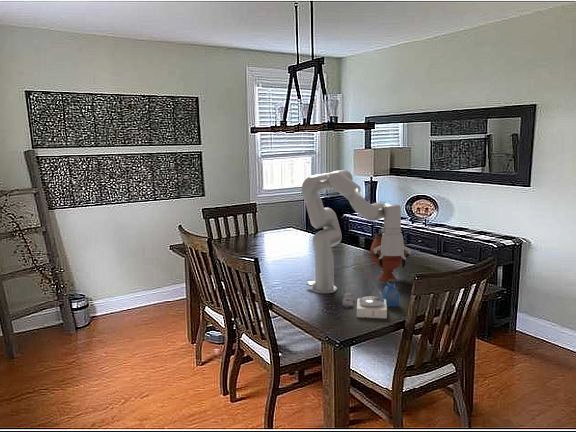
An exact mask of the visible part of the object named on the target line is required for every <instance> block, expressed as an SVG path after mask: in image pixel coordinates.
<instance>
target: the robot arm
mask: <svg viewBox="0 0 576 432" xmlns="http://www.w3.org/2000/svg"><path fill="white" fill-rule="evenodd" d="M332 189H334V191H336V192H337V193H339V194H340V195H341V196H342V197H344V198H345V199H347V200H348V202H349V204H350V206H351V208H352V209H353V210H354V211H355V213H356V214H358V215H359V216H361V217H362V218H363V219H365V220H366V221H369V222H373V221H376V220H380V219H383V228H382V227H381V228H380V232H381V233H383V234H382V241H381V246H379V247H377V248H375V249H373V251H374V253H375V255H376V256H377V257H378V258H379V265H381V268H380V269H382V267H383V259H382V257H383V256H401V257H402V264H401V268H402V269H403V268H405V266H406V259H407V258H408V257H409V256H410V255H411V253H412V249H411V248H409V247H407V246H406V245H405V242H404V236H403V234H402V233H401V231H402V230H401V229H402V224H401V222H402V219H401V217H402V216H401V215H402V207H401V205H400V204H397V203H385V202H383V201H382V202H373V203H370V202H369V201H367V200H366V199H365V198H364V197H363V196H362V195H361V192H362V191H361V190H362V189H361V186H360V185H359V184H357V183H356V182H355V181H354V179H353V175H352V173H351V172H350V171H349V170H347V169H341V170H334V171H332V172H326V173H325V172H324V173H320V174H319V173H317V174H313V175H310V176H308V177H306V179H304V181H303V183H302V185H301V194H302V198H303V201H304V202H305V206H306V211H307V214H308V219H309V221H310V225H311V226H312V227H313V228H315V229H321V228H322V230H318V231H317V232H316V233H315V234H314V235H313V238H312V245H313V251H314V269H315V270H314V271H315V273H314V279H315V280H313V281H306V286H308V287H312V288H311V289H312V292H314V293H317V294H320V295H321V294H324V295H326V294H332V293H335V292H337V289H338V287H337V286H335V284H334V283H335V282H334V280H335V279H334V276H335V275H334V274H335V273H334V272H335V270H334V268H335V267H334V253H333V250H332V247H335V246H337V245H338V244H340V242H341V241H342V238H343V237H342V230H341V227H340V223H339V220H338V217H337V214H336V212H335V211H334V210H333V209H332V208H330V207H324V203H323V200H322V198H321V196H320V195H319V194H318V192H323V191H327V190H332ZM403 242H404V243H403ZM404 245H405V246H404ZM380 249H381V254H380V255H379V254H378V253H377V251H378V250H380ZM404 249H405V250H406V254H405V255H404Z"/></svg>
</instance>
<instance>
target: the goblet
mask: <svg viewBox="0 0 576 432" xmlns="http://www.w3.org/2000/svg"><path fill="white" fill-rule="evenodd" d="M383 233H384V232H379V233H376V234H375V235H374V239H373V241H372V243H371V246H370V253H369V254H370V258H371V260H372V261H373V263H374V265H377V267H379V268H380V269H382V273H381V274H380V275H379V277H378V279H379V280H380V281H383V282H388V279H394V280H395V281H396V277H395V275H394V274H393V272H394V270H395V269H398V268H400V266H402V257H401V256H383V257H382V259H383V267H382V268H381V265H379V258H378V257H377V256H376V255H375V253H374V251H373V249H375V248H377V247H379V246H381V241H382V234H383ZM403 243H404V246H405V247H406V244H405V242H404V241H403ZM377 253H378V254H379V255H380V254H381V249H380V250H378V251H377ZM406 253H407V250H405V249H404V255H405V254H406Z"/></svg>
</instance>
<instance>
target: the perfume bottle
mask: <svg viewBox="0 0 576 432" xmlns="http://www.w3.org/2000/svg"><path fill="white" fill-rule="evenodd" d="M395 281H396V279H395V280H394V279H388V281H386V282H387V283H386V284H387V285H385V286H384V288H383V289H382V299H386V306H399V307H400V293H399V291H398V289H397V287H396V286H395V284H396V282H395Z"/></svg>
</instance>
